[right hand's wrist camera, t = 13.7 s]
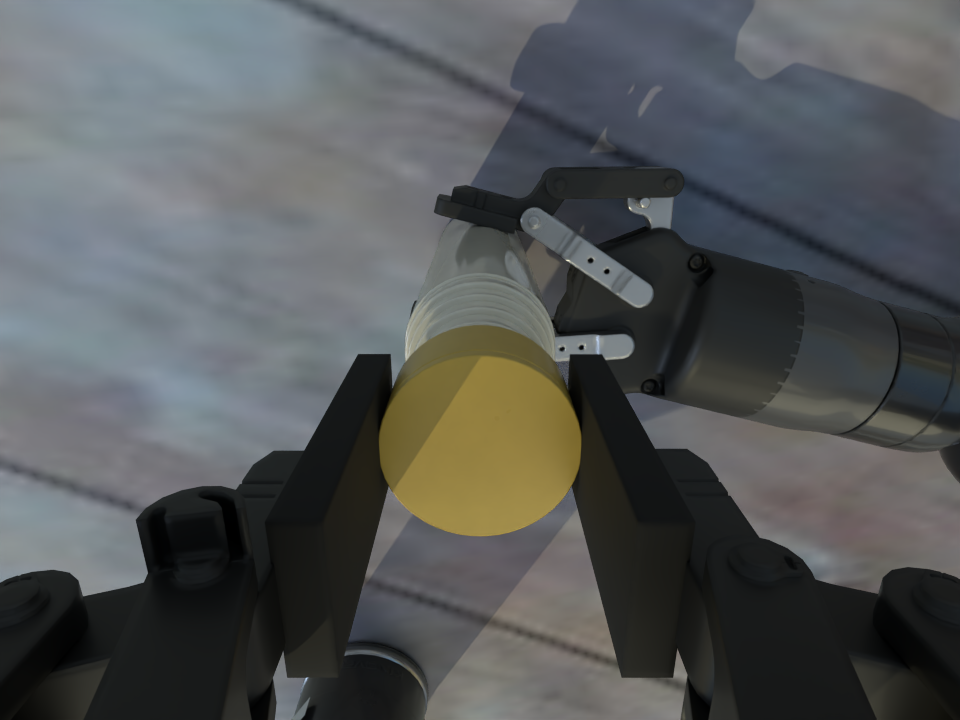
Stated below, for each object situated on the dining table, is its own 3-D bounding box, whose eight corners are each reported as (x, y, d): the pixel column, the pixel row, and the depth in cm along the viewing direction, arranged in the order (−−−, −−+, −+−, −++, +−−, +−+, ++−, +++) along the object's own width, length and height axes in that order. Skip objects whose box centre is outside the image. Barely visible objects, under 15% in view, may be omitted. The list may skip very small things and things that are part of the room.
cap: (471, 514, 15) (470, 568, 14) (354, 400, 14) (334, 441, 12) (604, 417, 14) (624, 461, 13) (490, 286, 13) (492, 311, 11)
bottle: (423, 238, 34) (327, 411, 13) (491, 191, 33) (513, 293, 12) (469, 304, 36) (452, 562, 14) (536, 261, 35) (627, 466, 13)
